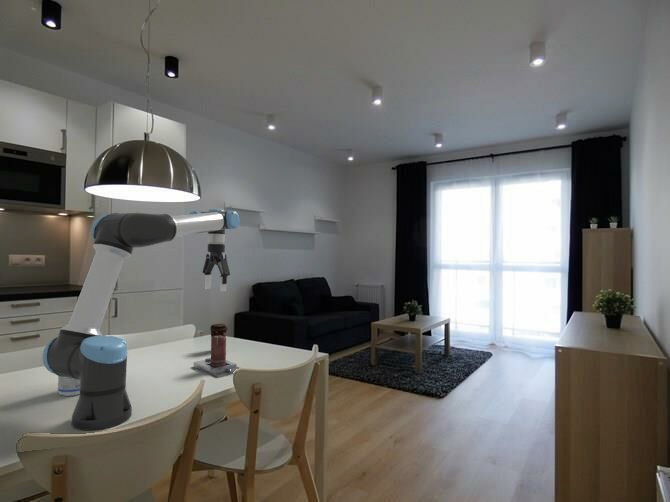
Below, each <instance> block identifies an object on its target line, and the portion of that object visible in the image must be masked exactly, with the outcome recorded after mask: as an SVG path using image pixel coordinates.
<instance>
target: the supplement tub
mask: <svg viewBox="0 0 670 502" xmlns="http://www.w3.org/2000/svg"><path fill="white" fill-rule="evenodd" d="M57 376H58V375H57ZM57 380H58V381H57V394H58V395H59V396H64V397H72V396H80V380H78V379H73V378H69V377H61V376H58V377H57Z"/></svg>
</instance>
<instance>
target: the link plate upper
mask: <svg viewBox="0 0 670 502" xmlns="http://www.w3.org/2000/svg"><path fill="white" fill-rule="evenodd" d="M226 365H227V366H222V367H217V368H214V367H211V357H210V358H209V357H208V358H205V359H203V360H198V361H194V362H193V368H195V369H198V370H200V368H203V369H205V370H207V371H210V372H213V371H217V370H222V369H226V368H231V367H236V366H237V363H234V362H233V361H230V360H227V359H226Z"/></svg>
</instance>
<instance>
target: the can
mask: <svg viewBox="0 0 670 502" xmlns="http://www.w3.org/2000/svg"><path fill="white" fill-rule="evenodd" d="M226 354H227V336H226V337H225V335H214V336H212V338H211V337H210V358H211V367H214V368H217V367H222V366H226V360H227V358H226V357H227V355H226Z"/></svg>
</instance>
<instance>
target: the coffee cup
mask: <svg viewBox="0 0 670 502" xmlns="http://www.w3.org/2000/svg"><path fill="white" fill-rule="evenodd" d="M209 329H210V339H211V338H212V336H214V335H225V337H226V338H227V331H228V327H227V324H225V323H214V324H211V325H210V328H209Z"/></svg>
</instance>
